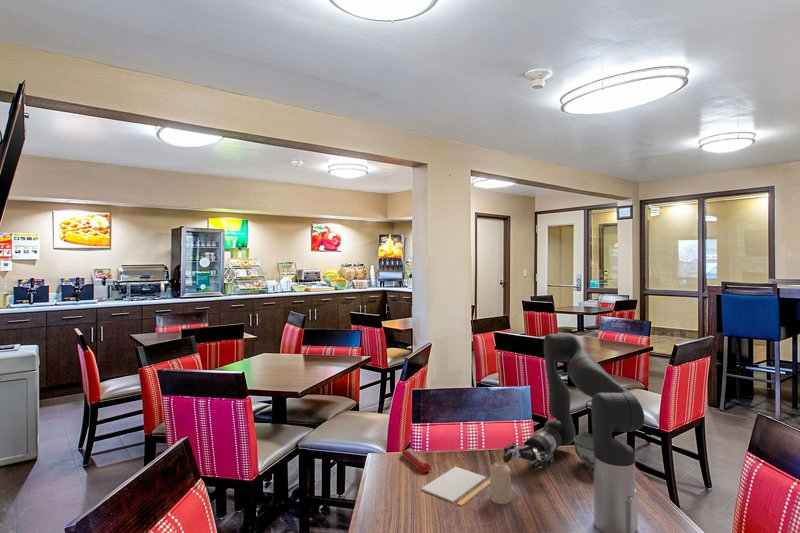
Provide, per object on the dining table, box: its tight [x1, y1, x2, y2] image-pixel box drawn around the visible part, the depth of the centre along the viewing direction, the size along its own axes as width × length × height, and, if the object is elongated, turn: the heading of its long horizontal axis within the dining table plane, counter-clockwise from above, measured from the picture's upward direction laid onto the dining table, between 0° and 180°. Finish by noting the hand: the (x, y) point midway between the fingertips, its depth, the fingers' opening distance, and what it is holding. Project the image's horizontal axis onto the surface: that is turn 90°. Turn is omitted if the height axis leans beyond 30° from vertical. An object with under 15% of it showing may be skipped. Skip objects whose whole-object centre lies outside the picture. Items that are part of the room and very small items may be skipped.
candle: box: [489, 461, 512, 505], centre depth 124 cm, size 6×6×10 cm
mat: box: [421, 466, 487, 504], centre depth 133 cm, size 11×18×1 cm, turn 140°
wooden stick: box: [456, 478, 490, 507], centre depth 128 cm, size 2×18×1 cm, turn 140°
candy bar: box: [401, 447, 432, 474], centre depth 147 cm, size 16×4×3 cm, turn 25°
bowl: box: [573, 433, 594, 471], centre depth 144 cm, size 14×13×8 cm
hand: (517, 463), depth 133 cm, fingers open, 8 cm apart
